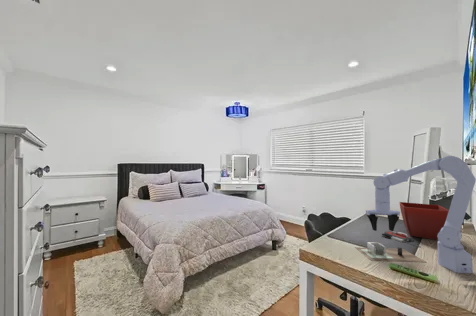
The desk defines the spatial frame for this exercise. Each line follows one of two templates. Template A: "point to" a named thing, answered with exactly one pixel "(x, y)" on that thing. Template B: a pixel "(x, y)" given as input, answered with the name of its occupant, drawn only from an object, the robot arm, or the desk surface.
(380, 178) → the robot arm
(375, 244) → the c link
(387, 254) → the stand
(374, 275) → the desk surface
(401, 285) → the desk surface
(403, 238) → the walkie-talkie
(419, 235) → the plant pot
